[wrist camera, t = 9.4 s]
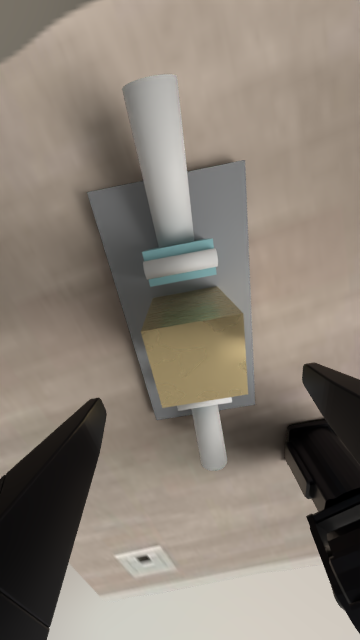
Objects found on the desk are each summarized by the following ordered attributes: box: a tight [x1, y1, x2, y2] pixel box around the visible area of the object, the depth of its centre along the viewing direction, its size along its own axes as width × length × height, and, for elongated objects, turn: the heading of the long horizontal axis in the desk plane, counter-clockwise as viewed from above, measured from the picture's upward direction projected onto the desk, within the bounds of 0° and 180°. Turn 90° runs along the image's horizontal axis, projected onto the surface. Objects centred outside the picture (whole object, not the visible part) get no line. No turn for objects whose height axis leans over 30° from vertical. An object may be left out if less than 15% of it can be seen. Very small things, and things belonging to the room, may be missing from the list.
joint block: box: [141, 286, 248, 408], centre depth 13 cm, size 5×5×6 cm
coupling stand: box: [87, 74, 255, 471], centre depth 14 cm, size 10×26×5 cm, turn 10°
